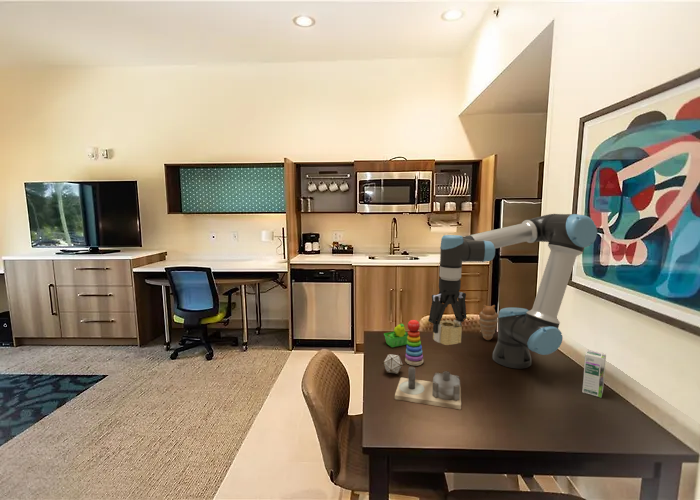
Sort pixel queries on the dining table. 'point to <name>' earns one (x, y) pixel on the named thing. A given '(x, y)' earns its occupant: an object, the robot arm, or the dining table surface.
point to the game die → (393, 363)
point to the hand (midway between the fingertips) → (446, 339)
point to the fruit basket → (397, 336)
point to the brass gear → (450, 332)
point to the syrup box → (594, 373)
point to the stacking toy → (414, 345)
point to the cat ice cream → (488, 321)
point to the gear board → (431, 390)
